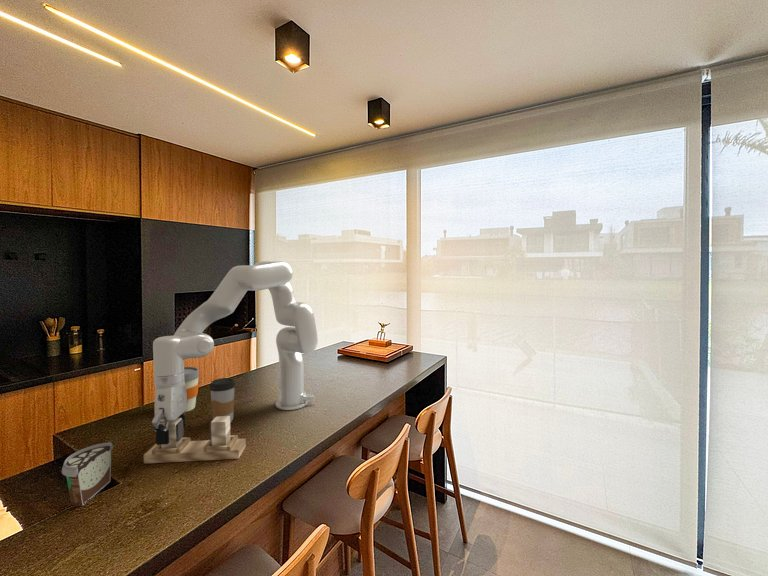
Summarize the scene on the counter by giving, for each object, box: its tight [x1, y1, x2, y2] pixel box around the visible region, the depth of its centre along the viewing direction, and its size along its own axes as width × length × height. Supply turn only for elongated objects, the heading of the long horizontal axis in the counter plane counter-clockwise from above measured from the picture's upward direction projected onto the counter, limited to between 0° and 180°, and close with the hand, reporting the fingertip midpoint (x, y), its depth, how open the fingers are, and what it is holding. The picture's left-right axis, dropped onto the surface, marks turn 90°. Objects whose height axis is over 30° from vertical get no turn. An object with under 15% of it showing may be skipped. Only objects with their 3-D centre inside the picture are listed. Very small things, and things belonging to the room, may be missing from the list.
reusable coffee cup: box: [184, 366, 200, 412], centre depth 137 cm, size 13×13×15 cm
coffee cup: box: [209, 377, 236, 424], centre depth 125 cm, size 8×8×15 cm
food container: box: [61, 441, 114, 507], centre depth 85 cm, size 12×6×10 cm, turn 5°
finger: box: [161, 418, 185, 449], centre depth 102 cm, size 5×4×8 cm
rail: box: [143, 416, 247, 465], centre depth 103 cm, size 26×7×10 cm, turn 96°
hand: (171, 435), depth 102 cm, fingers open, 9 cm apart
